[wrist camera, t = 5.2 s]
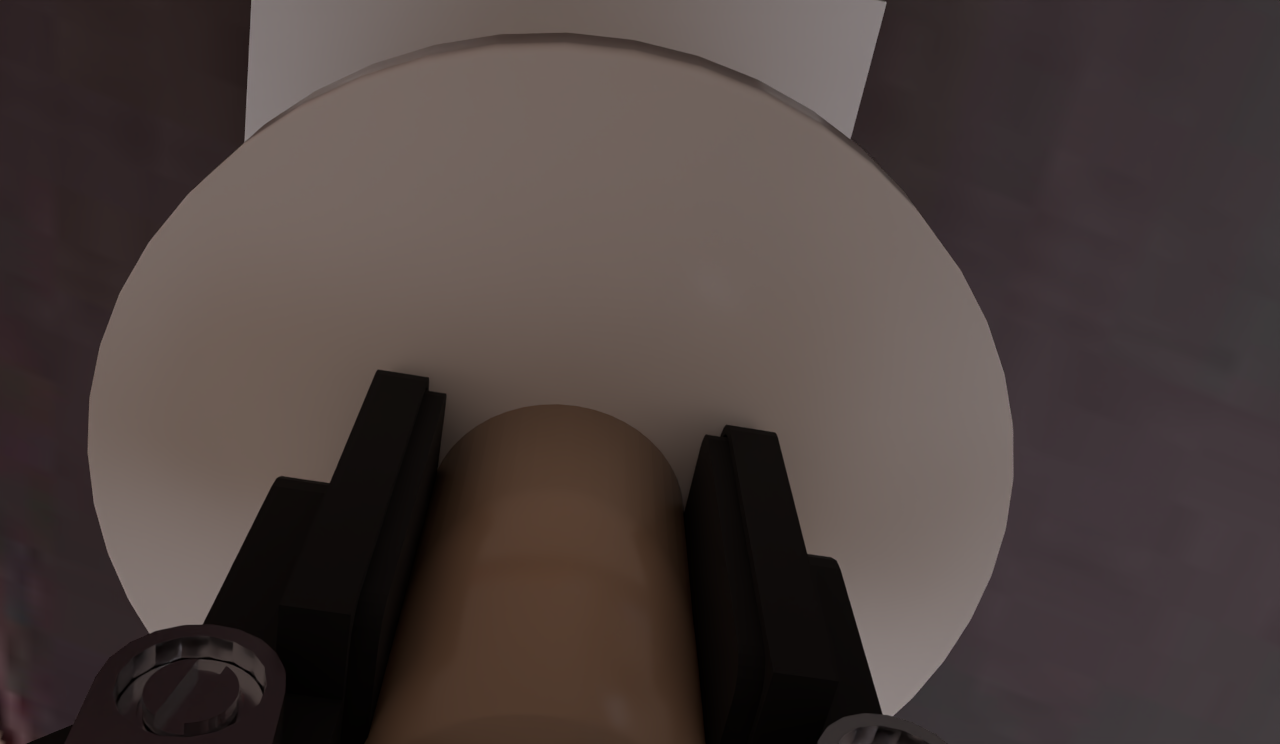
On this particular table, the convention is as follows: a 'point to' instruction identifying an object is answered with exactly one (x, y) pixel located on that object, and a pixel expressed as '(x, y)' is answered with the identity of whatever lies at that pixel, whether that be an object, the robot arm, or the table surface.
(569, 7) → the mat
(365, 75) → the lid
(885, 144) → the table surface
